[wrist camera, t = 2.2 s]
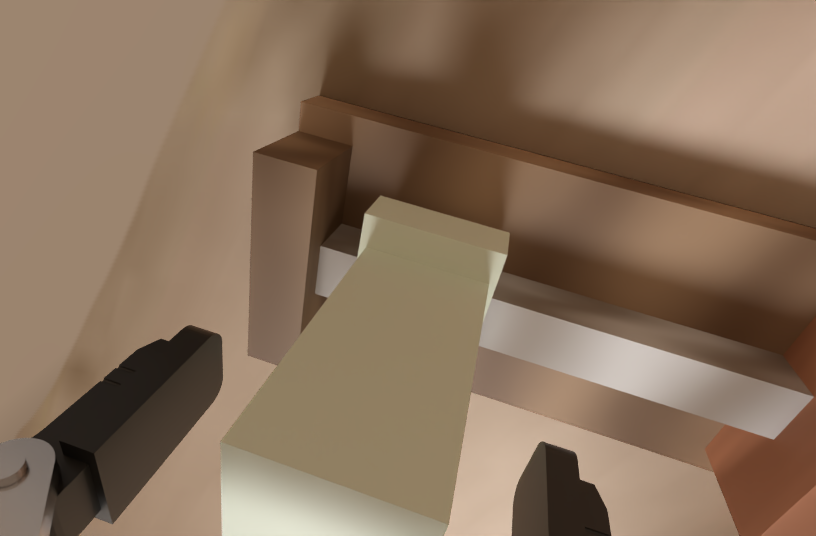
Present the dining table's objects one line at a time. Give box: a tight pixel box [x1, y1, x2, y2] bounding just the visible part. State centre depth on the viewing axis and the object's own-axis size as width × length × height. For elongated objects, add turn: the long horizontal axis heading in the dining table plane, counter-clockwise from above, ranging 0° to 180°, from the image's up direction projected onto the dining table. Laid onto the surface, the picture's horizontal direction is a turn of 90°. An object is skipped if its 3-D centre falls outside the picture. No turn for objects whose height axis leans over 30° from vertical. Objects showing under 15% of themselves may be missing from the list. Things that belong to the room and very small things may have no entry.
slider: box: [220, 195, 510, 536], centre depth 12 cm, size 4×7×10 cm, turn 168°
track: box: [248, 96, 816, 536], centre depth 16 cm, size 20×10×6 cm, turn 78°
